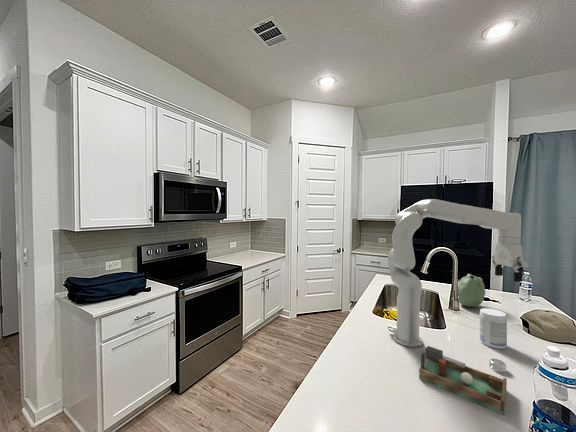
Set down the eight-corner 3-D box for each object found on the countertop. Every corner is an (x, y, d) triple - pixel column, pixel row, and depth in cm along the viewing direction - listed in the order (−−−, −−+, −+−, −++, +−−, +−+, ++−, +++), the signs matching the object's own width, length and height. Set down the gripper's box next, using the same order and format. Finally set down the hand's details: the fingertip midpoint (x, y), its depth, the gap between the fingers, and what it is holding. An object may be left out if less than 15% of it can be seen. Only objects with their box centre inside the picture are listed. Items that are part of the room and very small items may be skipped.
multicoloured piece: (425, 368, 92) (425, 349, 92) (427, 364, 95) (427, 345, 95) (464, 384, 84) (464, 362, 84) (465, 379, 86) (466, 358, 86)
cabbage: (447, 304, 160) (448, 274, 159) (462, 299, 169) (463, 270, 169) (475, 313, 146) (476, 280, 146) (490, 307, 156) (491, 276, 155)
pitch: (415, 376, 90) (415, 360, 90) (426, 360, 100) (426, 345, 100) (504, 415, 73) (504, 395, 73) (506, 390, 83) (506, 373, 83)
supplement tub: (509, 345, 111) (510, 313, 111) (502, 352, 106) (503, 318, 106) (483, 336, 119) (484, 306, 119) (475, 342, 114) (476, 310, 114)
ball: (459, 383, 85) (459, 373, 85) (461, 378, 87) (461, 368, 87) (472, 388, 82) (472, 378, 82) (473, 383, 85) (474, 373, 85)
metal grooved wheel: (509, 371, 93) (494, 364, 98) (509, 364, 93) (494, 356, 98) (500, 374, 91) (486, 366, 96) (501, 366, 91) (486, 359, 96)
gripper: (485, 238, 119) (484, 273, 120) (518, 242, 102) (517, 283, 102) (501, 238, 119) (500, 273, 120) (536, 242, 102) (535, 284, 102)
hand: (507, 278), depth 111 cm, fingers open, 9 cm apart
